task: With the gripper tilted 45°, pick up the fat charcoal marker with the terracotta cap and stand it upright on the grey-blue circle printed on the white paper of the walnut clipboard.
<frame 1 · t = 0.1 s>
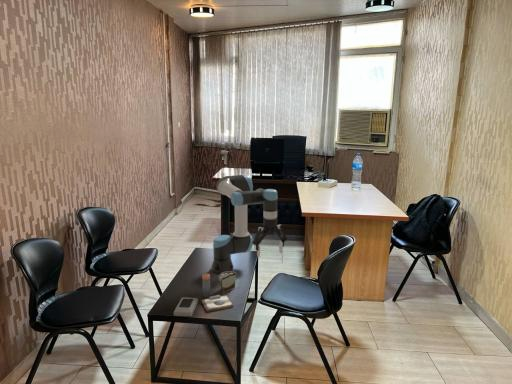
hand: (269, 254, 202), 28 cm above the table, tool pointing down, fingers open, 13 cm apart
grey framed panel: (186, 309, 199), on the table
food container: (225, 288, 221), on the table
clipboard: (217, 304, 203), on the table
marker: (206, 295, 213), on the table
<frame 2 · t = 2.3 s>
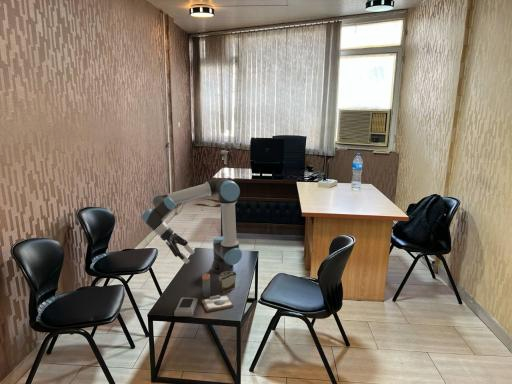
hand: (190, 257, 208), 24 cm above the table, tool tilted 45°, fingers open, 13 cm apart
nothing on the table moved.
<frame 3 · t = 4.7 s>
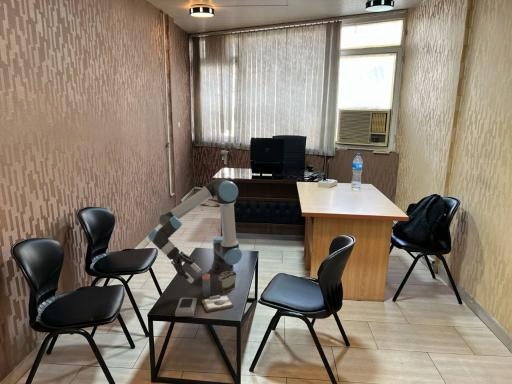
hand: (196, 276, 210), 12 cm above the table, tool tilted 45°, fingers open, 13 cm apart
nothing on the table moved.
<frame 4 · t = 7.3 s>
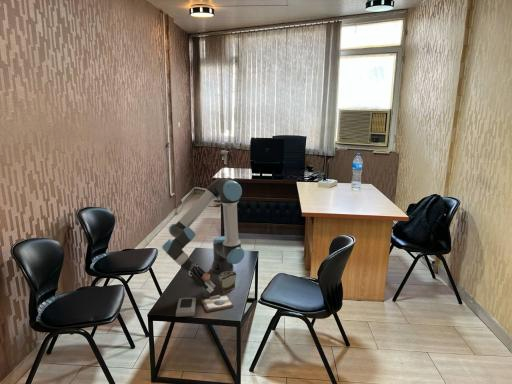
hand: (212, 289, 212), 4 cm above the table, tool tilted 45°, fingers closed on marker, 4 cm apart
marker: (206, 295, 213), on the table, touching gripper
everything else where it was.
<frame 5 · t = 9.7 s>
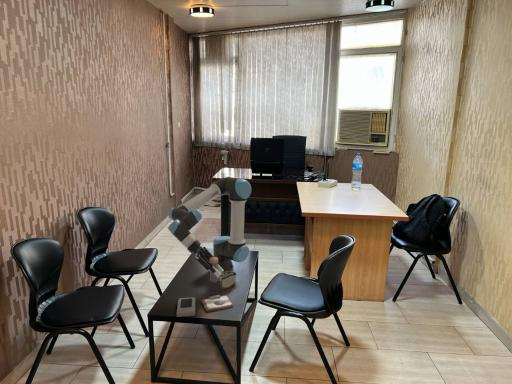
hand: (220, 273, 199), 18 cm above the table, tool tilted 45°, fingers closed on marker, 4 cm apart
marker: (214, 280, 201), point 14 cm above the table, touching gripper
when the fingers open (7 cm above the table, at t = 12.2 s): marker drops 1 cm, resting on clipboard.
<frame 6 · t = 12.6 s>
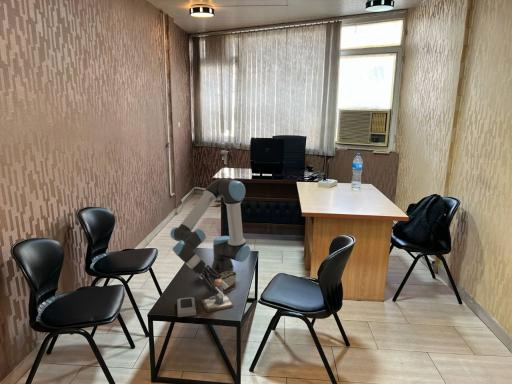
hand: (224, 292, 201), 8 cm above the table, tool tilted 45°, fingers open, 9 cm apart
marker: (219, 302, 202), point 2 cm above the table, touching clipboard
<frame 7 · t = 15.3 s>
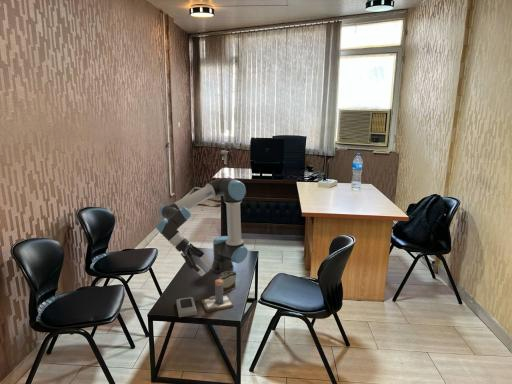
hand: (206, 269, 199), 21 cm above the table, tool tilted 45°, fingers open, 13 cm apart
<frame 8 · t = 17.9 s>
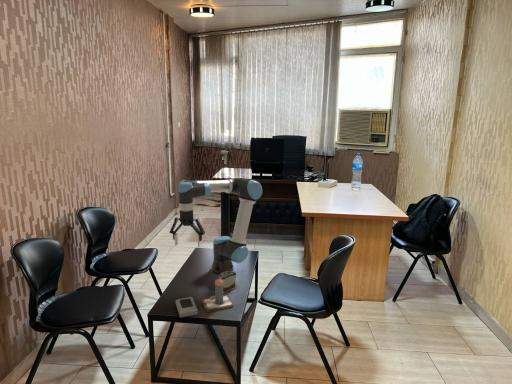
hand: (187, 245, 208), 31 cm above the table, tool pointing down, fingers open, 13 cm apart
at the end: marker 0.1 cm from the target spot on the clipboard, point 1.5 cm above the clipboard's base; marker tilted 1°; the gripper is holding nothing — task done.
